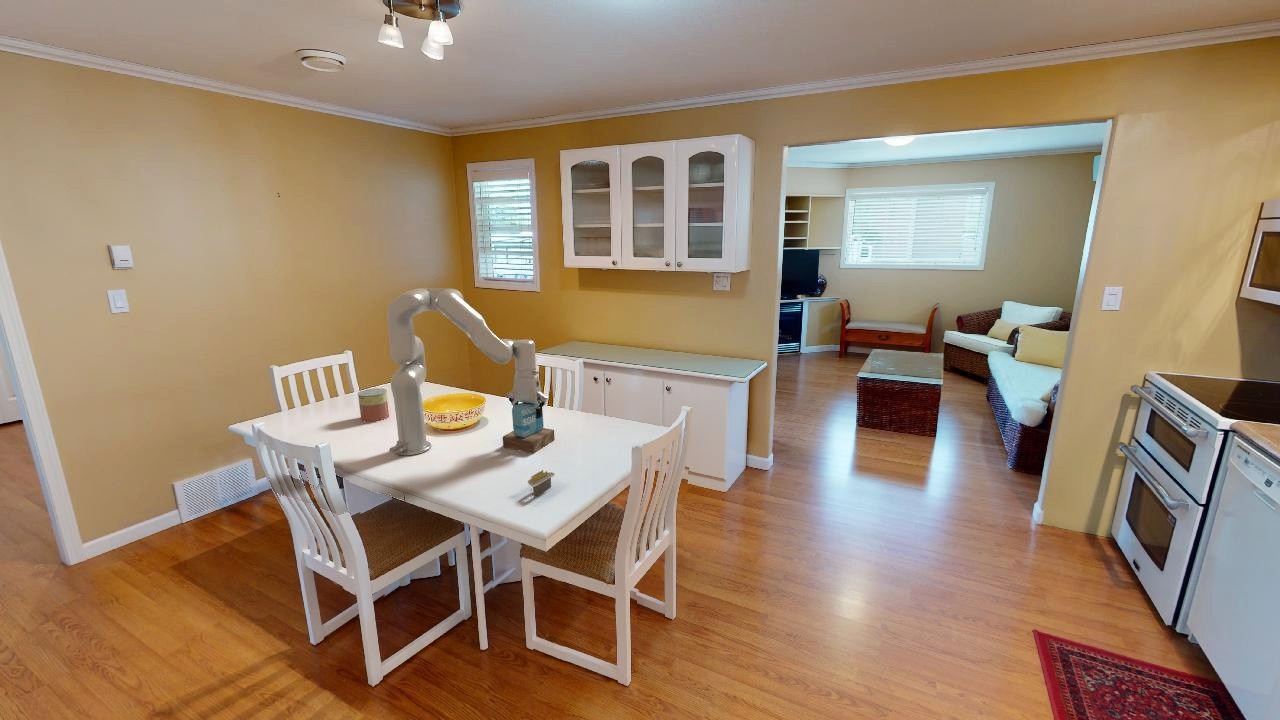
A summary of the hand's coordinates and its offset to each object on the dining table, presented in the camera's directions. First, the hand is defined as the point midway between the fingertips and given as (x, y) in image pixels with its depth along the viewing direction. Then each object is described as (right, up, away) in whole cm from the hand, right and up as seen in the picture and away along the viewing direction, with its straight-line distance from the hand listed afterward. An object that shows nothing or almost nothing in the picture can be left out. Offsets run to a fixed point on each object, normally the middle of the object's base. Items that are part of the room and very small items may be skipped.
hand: (528, 416), depth 210 cm
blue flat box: (0, -7, +1) cm, 7 cm away
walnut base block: (0, -12, +3) cm, 12 cm away
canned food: (-73, -4, +31) cm, 80 cm away
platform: (+11, -21, -36) cm, 43 cm away
